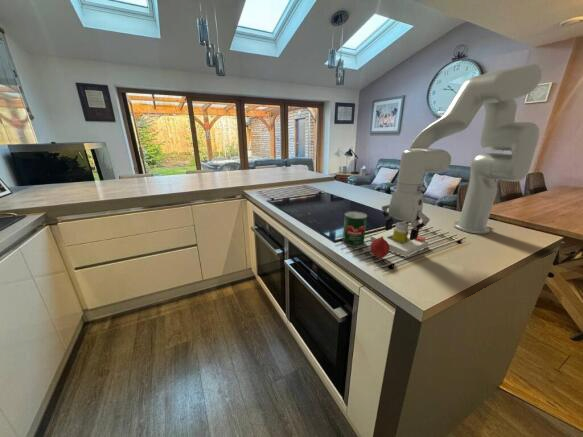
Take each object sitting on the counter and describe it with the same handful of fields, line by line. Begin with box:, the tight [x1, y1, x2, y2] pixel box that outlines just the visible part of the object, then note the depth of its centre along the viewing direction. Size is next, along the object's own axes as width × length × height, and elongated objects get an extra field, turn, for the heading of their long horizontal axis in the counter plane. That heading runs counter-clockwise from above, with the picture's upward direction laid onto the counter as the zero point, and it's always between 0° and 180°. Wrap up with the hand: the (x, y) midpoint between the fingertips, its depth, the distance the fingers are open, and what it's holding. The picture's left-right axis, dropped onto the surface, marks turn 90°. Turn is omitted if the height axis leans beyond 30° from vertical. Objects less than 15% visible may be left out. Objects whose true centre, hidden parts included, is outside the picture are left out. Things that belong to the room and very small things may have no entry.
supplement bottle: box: [392, 221, 409, 244], centre depth 85 cm, size 5×5×8 cm
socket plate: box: [369, 228, 430, 256], centre depth 86 cm, size 14×14×4 cm
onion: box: [370, 236, 390, 260], centre depth 76 cm, size 6×6×8 cm
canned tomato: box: [342, 210, 368, 247], centre depth 87 cm, size 8×8×11 cm
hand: (400, 234), depth 85 cm, fingers open, 9 cm apart
